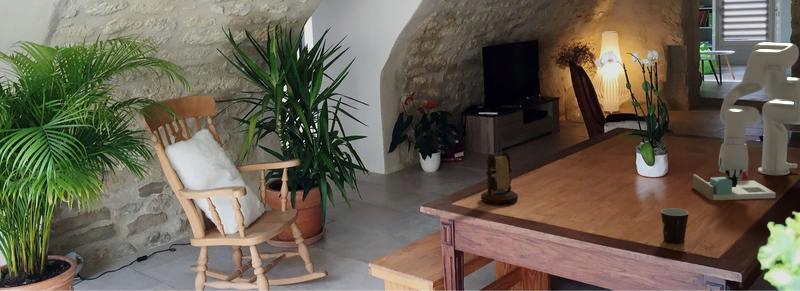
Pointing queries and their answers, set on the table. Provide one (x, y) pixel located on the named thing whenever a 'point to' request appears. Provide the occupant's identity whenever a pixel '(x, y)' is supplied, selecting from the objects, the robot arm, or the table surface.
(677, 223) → the coffee mug
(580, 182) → the table surface
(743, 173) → the soda can
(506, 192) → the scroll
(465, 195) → the table surface
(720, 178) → the block
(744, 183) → the tray
